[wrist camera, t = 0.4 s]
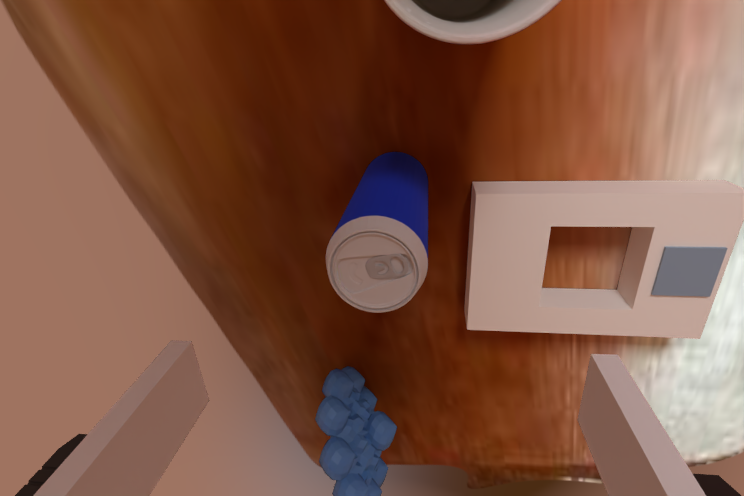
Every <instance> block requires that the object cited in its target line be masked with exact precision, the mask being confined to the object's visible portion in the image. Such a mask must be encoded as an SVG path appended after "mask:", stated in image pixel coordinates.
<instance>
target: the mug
mask: <svg viewBox="0 0 744 496" xmlns="http://www.w3.org/2000/svg"><path fill="white" fill-rule="evenodd" d="M384 1H385V3H386V4H387V6H388V7H389V8H390V9H391V10H392V11H393V13H394V14H395V15H396V16H397V17H398V18H399V19H400V20H402V21H403V22H404V23H405V24H406V25H408V26H409V27H411V28H412V29H414V30H416V31H417V32H419V33H421V34H423V35H425V36H428V37H430V38H433V39H436V40H439V41H443V42H448V43H453V44H483V43H488V42H493V41H496V40H500V39H503V38H505V37H508V36H511V35H513V34H516V33H518V32H520V31H522V30H524V29H525V28H527V27H529V26H530V25H532V24H534V23H535V22H537V21H538V20H540V19H541V18H542V17H544V16H545V15H546V14H547V13H549V12H550V11H551V10H552V9H553V8H554V7H555V6H557V5H558V4H559V3H560V2H561V1H562V0H384Z"/></svg>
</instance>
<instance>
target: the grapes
mask: <svg viewBox="0 0 744 496" xmlns="http://www.w3.org/2000/svg"><path fill="white" fill-rule="evenodd" d="M364 383H365V379H364V378H363V376H362V375H361V374H360V373H359V372H358V371H357V370H356V369H355V368H353V367H349V366H347V367H345V368H343V369H342V370H340V369H334V370H332V371H331V372H330V373H329V374H328V376H327V377H326V379H325V382H324V385H323V389H322V392H323V393H324V395H325V396H326V398H324V399H323V401H322V402H321V404H320V405H319V408H318V411H317V414H316V418H315V420H316V422H317V424H318V425H319V427H320V428H321V430H322V431H323V432H324V433H325V434H326V435H328V436H331V437H330V439H329V440H328V441H327V442H326V444H325V446H324V447H323V450H322V453H321V456H320V460H319V463H320V465H321V467H322V468H323V470H324V471H325V473H326V474H327V475H328V476H329V477H330V478H331V479H332V480H336V484H335V486H334V490H333V493H332V494H333V496H381V493H382V491H381V489H380V487H381V485H382V484H383V482H384V480H385V477H386V473H387V470H388V467H387V465H386V464H385V463H384V461H383V460H382V459H381V457H380V455H381V452H382V451H383V450H385V449H387V448H388V447H389V446H390V444H391V443H392V441H393V438H394V435H395V432H396V429H397V426H396V425H395V424H394V422H393V421H392V420H391V419H390V418H389V417H388V416H387V415H386V414H385V413H384V412H380V411H376V412H374V408H375V405H376V402H377V398H376V397H375V396H374V394H373V393H372V392H371V391H370V390H369V389H368V388H366V387H365V386H364Z"/></svg>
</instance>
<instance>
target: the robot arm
mask: <svg viewBox="0 0 744 496" xmlns="http://www.w3.org/2000/svg"><path fill="white" fill-rule="evenodd" d="M208 402H209V398H208V395H207V391H206V388H205V385H204V381H203V378H202V375H201V371H200V368H199V364H198V361H197V358H196V354H195V351H194V348H193V344H192V341H171V342H170V343H169V344H168V345H167V346H166V347H165V348H164V349H163V351H162V352H161V353H160V354H159V355H158V356H157V357H156V358H155V359H154V361H153V362H152V363H151V364H150V365H149V366H148V367H147V368H146V370H145V371H144V372H143V373H142V374H141V375H140V376H139V377H138V379H137V380H136V381H135V382H134V383H133V384H132V385H131V386H130V388H129V389H128V390H127V391H126V392H125V393H124V394H123V396H121V398H120V399H119V400H118V401H117V402H116V403H115V404H114V406H113V407H112V408H111V409H110V410H109V411H108V412H107V413H106V415H105V416H104V417H103V418H102V419H101V420H100V421H99V422H98V423H97V425H96V426H95V427H94V428H93V429H92V430H91V431H90V433H89V434H88V435H87V434H86V435H85V434H78V435H77V436H76V437H74V438H73V439H72V440H70V441H69V442H67V443H66V444H65V445H63V446H62V447H61V448H59V449H58V450H57V451H56V452H55V453H54V454H53V455H52V456H51V458H50V459H49V460H48V461H47V462H46V463H45V464H44V465H43V466H42V469H41V470H38V472H37V473H36V474H35V475H34V476H33V477H32V478H31V479H30V480H29V483H28V484H27V485H24V487H23V488H22V489H21V490H20V491H19V492H18V493H17V494H16V495H15V496H150V494H151V492H152V491H153V489H154V488H155V486H156V484H157V483H158V481H159V480H160V478H161V476H162V475H163V473H164V472H165V470H166V469H167V467H168V465H169V464H170V462H171V461H172V459H173V457H174V456H175V454H176V453H177V451H178V449H179V448H180V446H181V445H182V443H183V441H184V440H185V438H186V437H187V435H188V433H189V432H190V430H191V429H192V427H193V425H194V424H195V422H196V421H197V419H198V418H199V416H200V414H201V412H202V411H203V410H204V408H205V406H206V405H207V403H208ZM578 422H579V425H580V427H581V429H582V432H583V434H584V437H585V439H586V442H587V444H588V447H589V449H590V452H591V454H592V457H593V459H594V462H595V464H596V466H597V469H598V471H599V474H600V476H601V479H602V481H603V484H604V486H605V488H606V491H607V494H608V496H741V495H740V494H739V493H738V492H737V491H736V490H734V489H733V488H732V487H731V486H730V485H729V484H728V483H726V482H725V481H724V480H723V479H722V478H721V477H720V476H719V475H704V474H692V472H691V471H690V469H689V468H688V466H687V464H686V463H685V461H684V460H683V458H682V456H681V455H680V453H679V452H678V450H677V448H676V447H675V445H674V444H673V442H672V440H671V439H670V437H669V436H668V434H667V432H666V431H665V429H664V428H663V426H662V424H661V423H660V421H659V420H658V418H657V416H656V415H655V413H654V412H653V410H652V408H651V407H650V405H649V404H648V402H647V400H646V399H645V397H644V396H643V394H642V392H641V391H640V389H639V388H638V386H637V384H636V383H635V381H634V380H633V378H632V376H631V375H630V373H629V372H628V370H627V369H626V367H625V365H624V364H623V362H622V361H621V359H620V357H619V356H618V355H611V354H591V357H590V362H589V366H588V371H587V376H586V381H585V386H584V391H583V396H582V400H581V405H580V410H579V415H578Z"/></svg>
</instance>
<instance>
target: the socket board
mask: <svg viewBox="0 0 744 496" xmlns="http://www.w3.org/2000/svg"><path fill="white" fill-rule="evenodd" d="M743 220H744V188H742V187H739V186H737V185H735V184H733V183H730V182H728V181H726V180H650V181H504V182H472V194H471V210H470V226H469V242H468V258H467V274H466V290H465V306H464V311H465V319H466V326H467V330H487V331H513V332H539V333H565V334H591V335H617V336H643V337H669V338H695V339H700V337H701V334H702V332H703V329H704V326H705V323H706V321H707V318H708V315H709V313H710V310H711V307H712V304H713V302H714V299H715V296H716V294H717V291H718V288H719V285H720V283H721V280H722V277H723V275H724V272H725V269H726V266H727V264H728V261H729V258H730V256H731V253H732V250H733V247H734V245H735V242H736V239H737V237H738V234H739V231H740V228H741V226H742V223H743ZM551 226H569V227H632V230H631V234H630V238H629V242H628V246H627V250H626V254H625V258H624V262H623V266H622V270H621V274H620V279H619V283H618V287H617V290H606V289H566V288H542V282H543V276H544V270H545V263H546V257H547V250H548V244H549V237H550V231H551Z"/></svg>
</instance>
